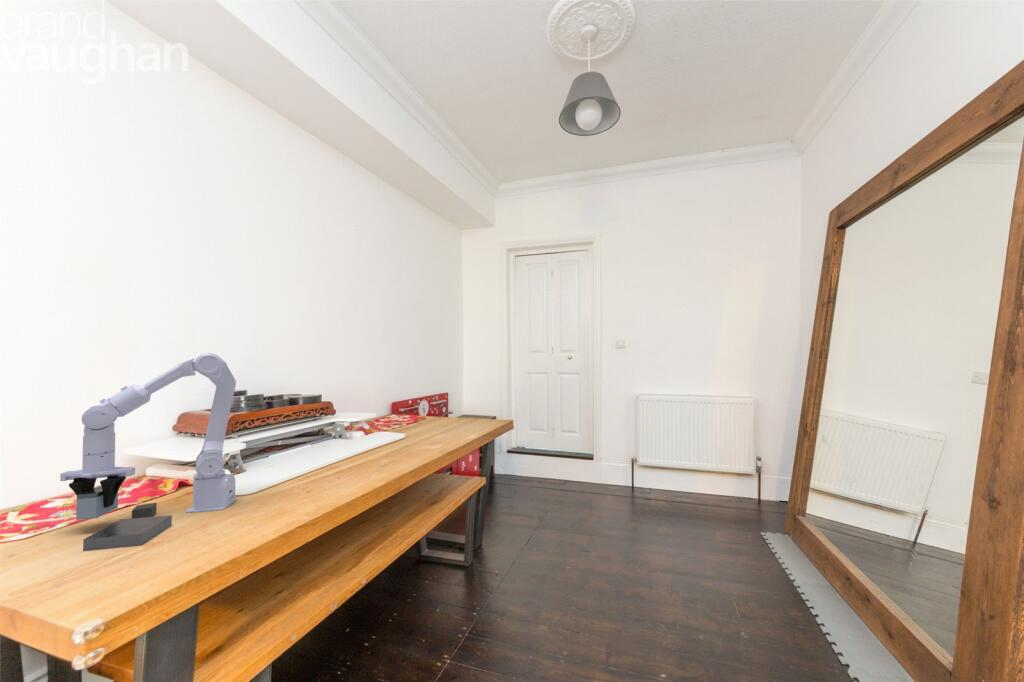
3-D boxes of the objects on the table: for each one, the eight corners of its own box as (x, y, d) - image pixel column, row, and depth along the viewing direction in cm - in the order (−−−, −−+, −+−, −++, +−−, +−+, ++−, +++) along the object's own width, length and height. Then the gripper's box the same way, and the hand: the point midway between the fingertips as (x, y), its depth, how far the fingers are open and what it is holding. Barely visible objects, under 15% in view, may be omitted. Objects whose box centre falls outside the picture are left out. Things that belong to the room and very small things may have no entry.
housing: (117, 507, 104) (118, 484, 104) (96, 518, 97) (96, 493, 97) (99, 509, 103) (99, 485, 103) (76, 520, 96) (76, 494, 96)
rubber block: (156, 513, 109) (156, 502, 109) (151, 518, 106) (151, 507, 106) (137, 516, 107) (137, 505, 108) (131, 521, 104) (131, 510, 104)
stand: (171, 525, 101) (171, 515, 101) (141, 545, 90) (141, 533, 90) (120, 529, 99) (120, 519, 99) (83, 550, 88) (83, 539, 88)
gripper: (49, 458, 95) (47, 516, 94) (121, 454, 98) (120, 510, 98) (74, 451, 102) (73, 505, 101) (141, 447, 105) (140, 499, 104)
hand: (97, 507), depth 100 cm, fingers closed on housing, 4 cm apart
